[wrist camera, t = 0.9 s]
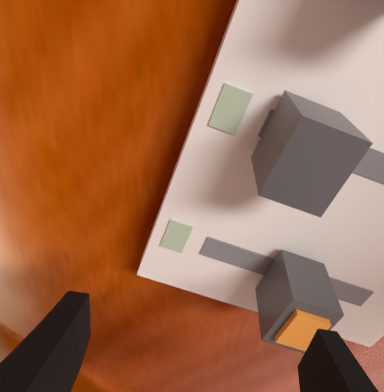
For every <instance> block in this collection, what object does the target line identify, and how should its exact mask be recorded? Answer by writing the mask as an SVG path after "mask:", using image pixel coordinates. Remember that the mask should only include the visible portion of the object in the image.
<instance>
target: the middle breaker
mask: <svg viewBox="0 0 384 392" xmlns="http://www.w3.org/2000/svg"><path fill="white" fill-rule="evenodd" d="M372 144H373V143H372V142H371V141H370V140H369V139H368V138H367V137H366V136H365V135H364V134H363V133H362V132H361V131H360V130H358V129H357V128H356V127H355V126H354V125H353V124H352V123H351V122H350V121H349V120H348V119H347V118H346V117H345V116H344V115H343V114H342V113H341V112H338V111H336V110H333V109H331V108H328V107H326V106H323V105H321V104H318V103H316V102H313V101H311V100H308V99H306V98H303V97H301V96H298V95H296V94H293V93H291V92H288V91H286V90H284V92H283V94H282V96H281V98H280V100H279V102H278V104H277V106H276V108H275V110H274V112H273V114H272V116H271V118H270V120H269V122H268V124H267V126H266V128H265V130H264V132H263V134H262V136H261V138H260V140H259V142H258V144H257V146H256V148H255V150H254V152H253V154H252V156H251V160H252V165H253V170H254V175H255V180H256V185H257V191H258V196H261V197H264V198H267V199H270V200H272V201H275V202H278V203H281V204H284V205H286V206H289V207H292V208H295V209H298V210H301V211H303V212H306V213H309V214H312V215H315V216H318V217H320V218H321V217H322V215H323V214H324V212H325V211H326V210H327V208H328V207H329V205H330V204H331V202H332V201H333V200H334V198H335V197H336V195H337V194H338V192H339V191H340V189H341V188H342V187H343V185H344V184H345V182H346V181H347V179H348V178H349V177H350V175H351V174H352V172H353V171H354V169H355V168H356V167H357V165H358V164H359V162H360V161H361V159H362V158H363V157H364V155H365V154H366V152H367V151H368V149H369V148H370V147H371V145H372Z"/></svg>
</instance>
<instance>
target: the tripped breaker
mask: <svg viewBox="0 0 384 392" xmlns="http://www.w3.org/2000/svg"><path fill="white" fill-rule="evenodd" d="M255 290H256V299H257V307H258V315H259V323H260V332H261V340H262V341H265V342H269V343H272V344H275V345H279V346H282V347H285V348H289V349H292V350H295V351H299V352H302V353H305V352H306V350H307V348H308V346H309V344H310V342H311V340H312V338H313V337H314V335H315V333H316V331H317V329H325V330H331V329H332V328H333V327H334V326H335V325H336V324H337V323H338V322H339V320H340V319H341V318H342V317H343V316H344V313H343V311H342V308H341V306H340V303H339V300H338V298H337V295H336V293H335V290H334V288H333V285H332V283H331V280H330V277H329V275H328V272H327V270H326V267H325V265H324V263H321V262H318V261H315V260H312V259H309V258H306V257H303V256H300V255H297V254H294V253H291V252H288V251H285V250H282V249H281V250H280V252H279V253H278V255H277V256H276V258H275V259H274V261H273V262H272V264H271V265H270V267H269V268H268V270H267V272H266V273H265V275H264V276H263V278H262V279H261V281H260V282H259V284H258V285H257V287H256V288H255Z"/></svg>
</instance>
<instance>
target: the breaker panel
mask: <svg viewBox="0 0 384 392" xmlns="http://www.w3.org/2000/svg"><path fill="white" fill-rule="evenodd" d="M284 90H286V91H288V92H291V93H293V94H296V95H298V96H301V97H303V98H306V99H308V100H311V101H313V102H316V103H318V104H321V105H323V106H326V107H328V108H331V109H333V110H336V111H338V112H341V113H342V114H343V115H344V116H345V117H346V118H347V119H348V120H349V121H350V122H351V123H352V124H353V125H354V126H355V127H356V128H357V129H358V130H360V131H361V132H362V133H363V134H364V135H365V136H366V137H367V138H368V139H369V140H370V141H371V142H372V143H373V144H372V145H371V147H370V148H369V149H368V151H367V152H366V154H365V155H364V157H363V158H362V159H361V161H360V162H359V164H358V165H357V167H356V168H355V169H354V171H353V172H352V174H351V175H350V177H349V178H348V179H347V181H346V182H345V184H344V185H343V187H342V188H341V189H340V191H339V192H338V194H337V195H336V197H335V198H334V200H333V201H332V202H331V204H330V205H329V207H328V208H327V210H326V211H325V212H324V214H323V215H322V217H321V218H320V217H318V216H315V215H312V214H309V213H306V212H303V211H301V210H298V209H295V208H292V207H289V206H286V205H284V204H281V203H278V202H275V201H272V200H270V199H267V198H264V197H261V196H258V191H257V185H256V180H255V175H254V170H253V165H252V160H251V156H252V154H253V152H254V150H255V148H256V146H257V144H258V142H259V140H260V138H261V136H262V134H263V132H264V130H265V128H266V126H267V124H268V122H269V120H270V118H271V116H272V114H273V112H274V110H275V108H276V106H277V104H278V102H279V100H280V98H281V96H282V94H283V92H284ZM281 249H282V250H285V251H288V252H291V253H294V254H297V255H300V256H303V257H306V258H309V259H312V260H315V261H318V262H321V263H324V265H325V267H326V270H327V272H328V275H329V277H330V280H331V283H332V285H333V288H334V290H335V293H336V295H337V298H338V300H339V303H340V306H341V308H342V311H343V313H344V316H343V317H342V318H341V319H340V320H339V322H338V323H337V324H336V325H335V326H334V327H333V328H332V329H331V331H337V332H338V334H339V335H340V337H341V338H342V339H345V340H348V341H351V342H354V343H358V344H361V345H364V346H367V347H372V346H373V345H374V344H375V343H376V342H377V341H378V340H379V339H380V338H381V337H383V336H384V0H237V1H236V3H235V6H234V9H233V11H232V14H231V17H230V20H229V22H228V25H227V28H226V30H225V33H224V36H223V38H222V41H221V44H220V47H219V49H218V52H217V55H216V57H215V60H214V63H213V65H212V68H211V71H210V74H209V76H208V79H207V82H206V84H205V87H204V90H203V93H202V95H201V98H200V101H199V103H198V106H197V109H196V111H195V114H194V117H193V120H192V122H191V125H190V128H189V130H188V133H187V136H186V139H185V141H184V144H183V147H182V149H181V152H180V155H179V157H178V160H177V163H176V166H175V168H174V171H173V174H172V176H171V179H170V182H169V184H168V187H167V190H166V193H165V195H164V198H163V201H162V203H161V206H160V209H159V212H158V214H157V217H156V220H155V222H154V225H153V228H152V230H151V233H150V236H149V239H148V241H147V244H146V247H145V249H144V252H143V256H142V259H141V262H140V266H139V269H138V272H137V275H138V276H142V277H145V278H148V279H151V280H154V281H158V282H161V283H164V284H167V285H171V286H174V287H177V288H180V289H184V290H187V291H190V292H193V293H196V294H200V295H203V296H206V297H209V298H213V299H216V300H219V301H222V302H225V303H229V304H232V305H235V306H238V307H242V308H245V309H248V310H251V311H254V312H258V307H257V299H256V290H255V288H256V287H257V285H258V284H259V282H260V281H261V279H262V278H263V276H264V275H265V273H266V272H267V270H268V268H269V267H270V265H271V264H272V262H273V261H274V259H275V258H276V256H277V255H278V253H279V252H280V250H281Z"/></svg>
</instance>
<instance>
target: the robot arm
mask: <svg viewBox="0 0 384 392" xmlns="http://www.w3.org/2000/svg"><path fill="white" fill-rule="evenodd" d="M90 336H91V334H90V305H89V294H87V293H80V292H74V291H69V292H67V293H66V294H65V295H64V296H63V297H62V299H61V300H60V301H59V302H58V303H57V304H56V306H55V307H54V308H53V309H52V310H51V311H50V312H49V313H48V314H47V316H46V317H45V318H44V319H43V320H42V321H41V322H40V323H39V324H38V325H37V326H36V327H35V329H34V330H33V331H32V332H31V333H30V334H29V335H28V336H27V337H26V338H25V339H24V340H23V341H22V342H21V343H20V344H19V345H18V346H17V347H16V348H15V349H14V350H13V351H12V352H11V353H10V354H9V355H8V356H7V357H6V358H5V359H4V360H3V361H2V362H1V363H0V392H71V389H72V387H73V384H74V382H75V380H76V378H77V375H78V373H79V370H80V368H81V365H82V361H83V358H84V355H85V352H86V349H87V345H88V342H89V339H90ZM298 373H299V384H300V392H378V390H377V389H376V387H375V386H374V385H373V383H372V382H371V380H370V379H369V377H368V376H367V374H366V373H365V372H364V370H363V369H362V367H361V366H360V364H359V363H358V361H357V360H356V358H355V357H354V356H353V354H352V353H351V351H350V350H349V348H348V347H347V345H346V344H345V342H344V341H343V339H342V338H341V337H340V335H339V334H338V332H337V331H331V330H325V329H317V331H316V333H315V335H314V337H313V338H312V340H311V342H310V344H309V346H308V348H307V350H306V352H305V354H304V356H303V358H302V360H301V362H300V363H299V365H298Z"/></svg>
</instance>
